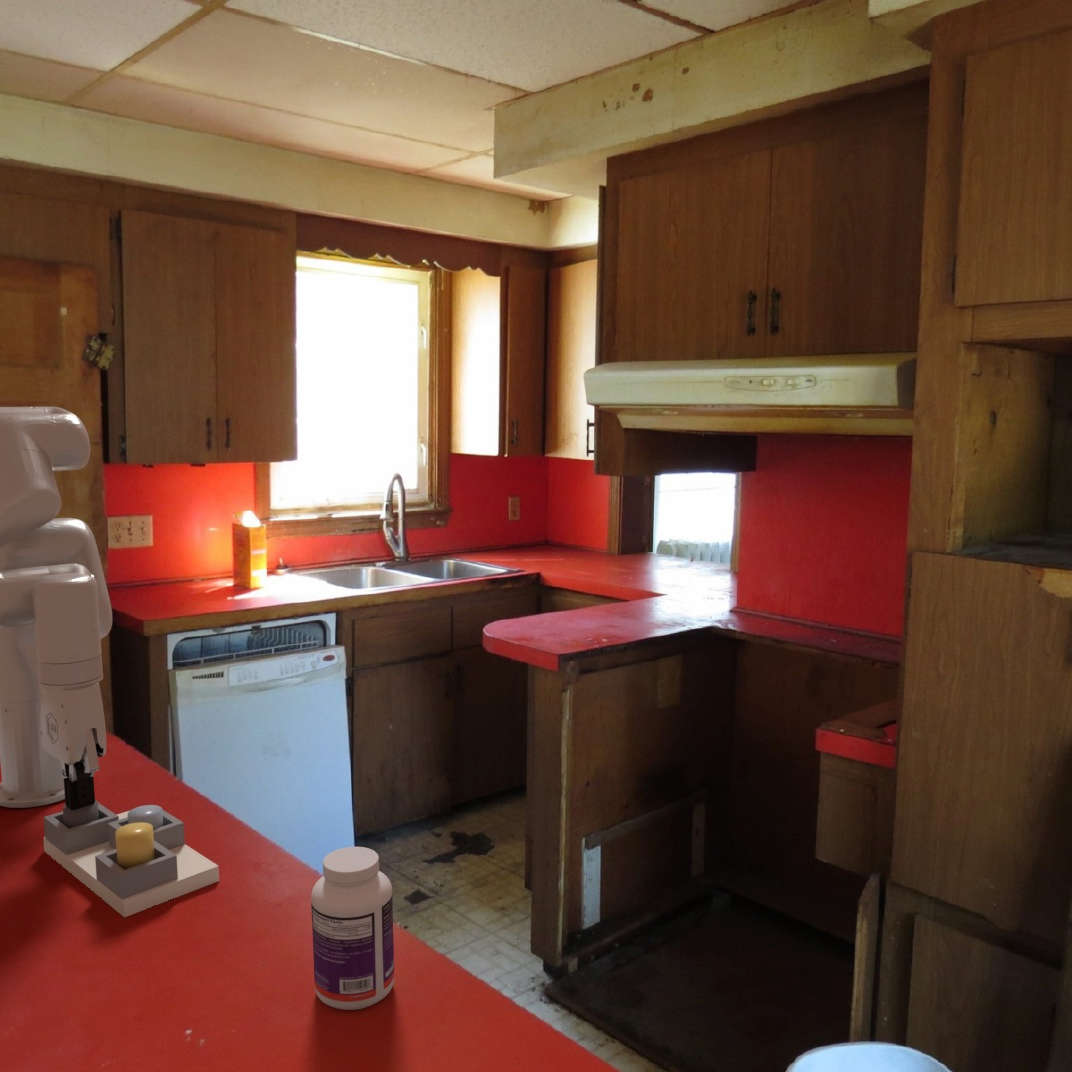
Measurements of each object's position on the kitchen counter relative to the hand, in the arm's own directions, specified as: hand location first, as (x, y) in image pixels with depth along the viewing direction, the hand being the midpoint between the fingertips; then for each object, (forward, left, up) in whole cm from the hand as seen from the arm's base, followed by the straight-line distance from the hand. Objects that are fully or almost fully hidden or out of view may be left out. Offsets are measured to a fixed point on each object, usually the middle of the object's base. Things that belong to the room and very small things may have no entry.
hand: (80, 805), depth 132 cm
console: (+8, +3, -7) cm, 11 cm away
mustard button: (+16, 0, -2) cm, 16 cm away
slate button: (+8, +5, -4) cm, 10 cm away
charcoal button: (0, 0, -4) cm, 4 cm away
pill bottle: (+51, +7, -7) cm, 52 cm away
